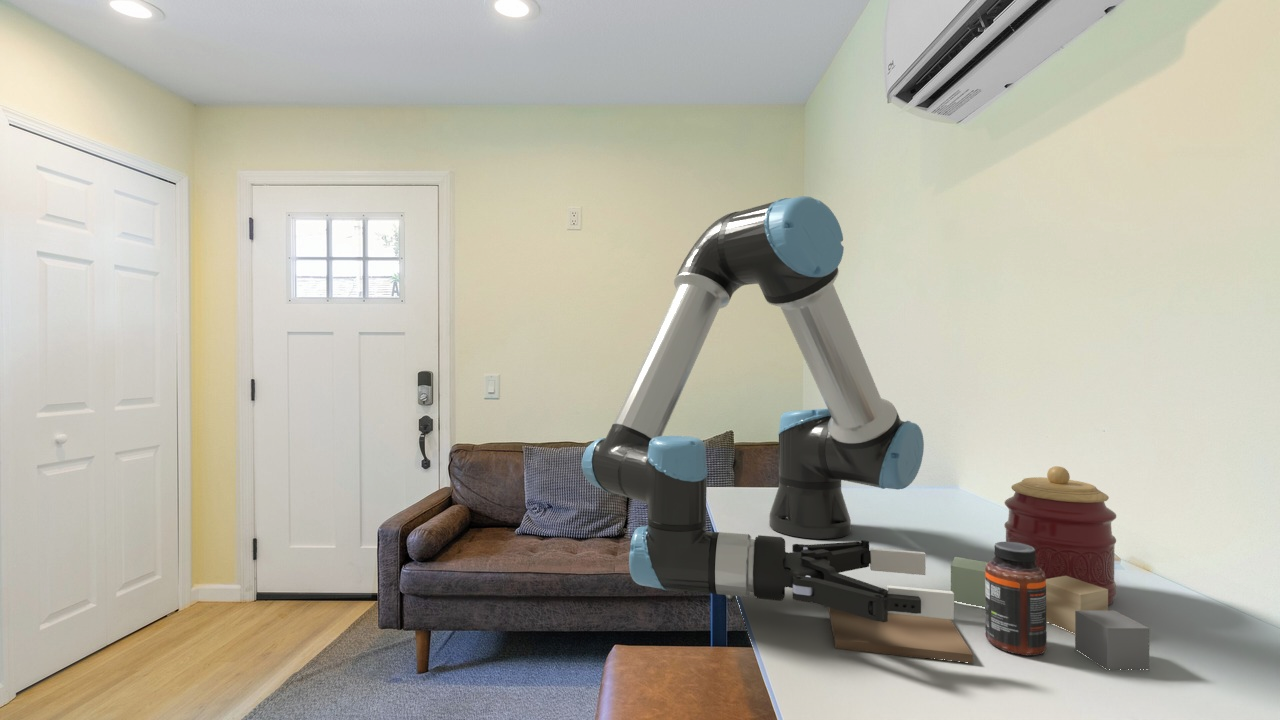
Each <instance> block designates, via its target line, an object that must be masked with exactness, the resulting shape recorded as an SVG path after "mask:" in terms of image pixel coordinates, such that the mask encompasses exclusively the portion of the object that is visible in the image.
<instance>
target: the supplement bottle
mask: <svg viewBox="0 0 1280 720" xmlns="http://www.w3.org/2000/svg"><path fill="white" fill-rule="evenodd" d="M1035 553H1036V551H1035V549H1034V548H1033V547H1031V546H1029V545H1026V544H1022V543H1016V542H1006V541H997V542H995V544H994V558H992V559H991V560H989V561H987V562H988V563H987V564H986V568H985V609H984V610H985V611H984V613H985V616H984V617H985V624H984V625H985V638H986V640H987V641H988V642H989V644H991V645H993V646H994V647H996V648H997V649H1000V650H1003V651H1005V652H1007V651H1008V652H1007V653H1010V652H1011V653H1010V654H1014V653H1015V655H1020V654H1021V656H1028V655H1033V656H1037V655H1040V654H1044V653H1045V652H1046V649H1047V642H1048V640H1047V639H1048V638H1047V634H1048V633H1047V632H1048V631H1047V623H1046V576H1045V573H1044V571H1043V570H1042V569H1041V568H1040V567H1038V566H1036V564H1035V560H1036V557H1035V556H1036V555H1035Z"/></svg>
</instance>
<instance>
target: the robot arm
mask: <svg viewBox="0 0 1280 720" xmlns="http://www.w3.org/2000/svg"><path fill="white" fill-rule="evenodd" d="M842 231H843V230H842V227H841V226H840V223H839V220H838V218H837V217H836V215H835V214H834V212H833V211H832V209H831V208H830V207H828V205H826V204H825V203H824V202H822V200H819V199H816V198H814V197H811V196H803V195H802V196H797V197H792V198H791V197H789V198H788V197H785V198H779V199H777V200H776V201H772V202H768V203H765V204H761V205H757V206H754V207H751V208H747V209H744V210H739V211H734V212H730V213H727V214H725V215H723V216H722V217H720V218H718V219H717V220H715V221H714V222H713V223H712V224H710V226H709V227H707V228H706V230H705V231H704V232H703V233H702V234H700V237H698V239H697V240H696V241H695V242H694V243H693V245H692V247H691V249H690V250H689V251H688V253H687V255H686V256H685V258H684V260H683V261H682V264H681V265H680V268H679V269H678V271H677V274H676V275H675V278H674V281H673V285H674V287H675V292H674V294H673V296H672V297H671V300H670V302H669V305H668V307H667V308H666V311H665V313H664V315H663V317H662V319H661V322H660V323H659V326H658V328H657V330H656V332H655V333H654V336H653V339H652V340H651V343H650V345H649V347H648V348H647V351H646V353H645V355H644V358H643V359H642V361H641V363H640V365H639V368H638V369H637V372H636V374H635V376H634V378H633V380H632V382H631V385H630V387H629V389H628V391H627V393H626V395H625V397H624V399H623V402H622V404H621V406H620V408H619V410H618V412H617V414H616V416H615V418H614V420H613V423H612V425H611V428H610V429H609V431H608V433H607V435H606V437H605V438H604V437H603V438H598V439H595V440H594V441H593V442H592V443H591V444H589V445H588V446H587V447H586V448H585V451H584V452H583V456H582V460H581V470H582V474H583V475H584V478H585V479H586V480H587V482H588V483H589V484H590V485H591V486H594V487H596V488H597V489H598V488H599V489H600V490H601V491H604V492H606V493H608V494H609V493H610V494H613V495H614V494H615V495H618V496H623V497H626V498H629V499H632V500H634V501H635V500H636V501H639V502H642V503H645V504H647V524H646V525H645V526H644V525H643V526H638V527H637V528H635V530H634V531H633V534H632V537H631V541H630V547H629V548H630V550H629V555H628V567H629V573H630V574H629V575H630V577H631V579H632V581H633V582H634V583H636V584H637V585H639V586H643V587H649V588H655V589H661V590H663V591H679V592H691V593H692V592H693V593H701V594H702V593H703V594H712V595H724V596H725V598H726V599H728V600H731V599H733V598H734V597H743V598H744V597H745V598H747V597H749V596H750V593H753V596H754V597H756V599H759V600H768V601H778V602H781V601H783V600H785V596H786V595H785V594H786V588H789V589H792V599H793V601H797V602H804V603H811V604H816V605H819V606H822V607H826V608H828V607H829V608H832V609H836V610H840V611H843V612H847V613H850V614H854V615H857V616H861V617H864V618H868V619H871V620H875V621H879V622H887V621H888V613H894V614H904V615H914V616H924V617H933V618H943V619H950V620H954V619H955V617H954V616H955V614H954V613H955V603H954V593H953V592H952V591H951V590H941V589H932V588H931V589H930V588H920V587H909V586H901V585H890V584H889V585H888V584H887V585H886V588H883V587H880V586H877V585H874V584H871V583H868V582H865V581H864V580H863V581H862V580H859V579H856V578H854V577H852V576H851V577H850V576H847V575H845V574H842V573H844V572H850V571H854V570H860V569H864V568H865V569H866V568H870V569H869V570H870V571H873V572H874V571H875V572H886V573H898V574H908V575H919V576H920V575H921V576H926V560H927V559H926V553H925V552H924V551H914V550H912V551H911V550H902V549H888V548H877V547H870V541H868V540H864V539H863V540H860V541H846V542H831V543H815V544H803V543H801V544H800V543H794V544H792V552H791V551H790V552H787V551H786V540H785V538H783V537H782V536H773V535H772V536H771V535H760V534H759V535H757V536H755V539H752V536H751V535H750V534H749V533H735V532H720V531H719V532H717V531H710V530H709V531H708V530H706V529H707V523H706V521H707V491H708V490H707V488H708V487H707V484H708V481H707V479H708V472H709V471H708V466H707V453H706V451H707V450H706V449H707V448H706V444H705V443H704V441H703V440H702V439H701V438H697V437H694V436H687V435H683V436H682V435H664V433H665V431H666V429H667V426H668V424H669V422H670V420H671V417H672V416H673V413H674V410H675V409H676V407H677V404H678V401H679V399H680V397H681V394H682V392H683V390H684V388H685V386H686V383H687V381H688V379H689V377H690V375H691V373H692V370H693V368H694V366H695V363H696V361H697V359H698V357H699V355H700V353H701V350H702V347H703V346H704V343H705V341H706V339H707V336H708V334H709V333H710V330H711V328H712V326H713V323H714V321H715V319H716V316H717V314H718V312H719V310H721V309H723V308H726V307H727V306H728V305H729V303H730V300H731V299H732V296H733V295H734V293H735V292H736V291H737V290H738V289H740V288H741V287H743V286H747V285H759V286H758V287H759V288H760V291H761V293H762V294H763V295H762V296H764V299H765V301H766V302H767V304H769V305H771V306H775V307H780V309H781V311H782V313H783V316H784V318H785V321H786V322H787V324H788V326H789V328H790V331H791V333H792V335H793V337H794V339H795V342H796V344H797V345H798V348H799V350H800V352H801V354H802V357H803V359H804V360H805V362H806V364H807V367H808V369H809V371H810V373H811V376H812V378H813V380H814V382H815V384H816V386H817V389H818V391H819V393H820V395H821V397H822V399H823V401H824V404H825V407H826V408H818V409H815V408H814V409H805V410H804V409H802V410H791V411H786V412H784V413H782V414H781V416H780V419H779V430H778V489H777V492H776V494H775V497H774V500H773V503H772V506H771V509H770V511H769V522H768V523H769V527H770V528H771V529H772V530H773V531H776V532H778V533H780V534H784V535H787V536H791V537H798V538H803V539H804V538H805V539H816V540H817V539H818V540H819V539H820V540H821V539H822V540H823V539H825V540H830V539H838V538H842V537H843V538H844V537H846V536H849V534H851V530H852V529H851V528H852V526H851V525H852V521H851V516H850V514H849V510H848V508H847V504H846V502H845V501H846V500H845V499H844V496H843V491H842V481H844V482H845V481H846V482H851V483H854V484H860V485H864V486H870V487H875V488H880V489H881V490H884V489H889V490H904V489H905V488H907V487H909V486H910V485H911V484H912V483H913V482H914V481H915V479H916V477H917V476H918V474H919V471H920V468H921V465H922V462H923V457H924V447H925V444H924V443H925V441H924V436H923V431H922V429H921V427H920V426H919V425H918V424H917V423H915V422H912V421H911V420H906V421H903V420H901V418H900V416H899V413H898V410H897V409H896V406H895V405H894V404H893V403H892V402H891V401H889V400H887V399H884V398H881V395H880V392H879V390H878V388H877V386H876V383H875V381H874V378H873V376H872V374H871V371H870V369H869V368H870V367H868V364H867V362H866V360H865V357H864V354H863V352H862V350H861V347H860V345H859V342H858V340H857V337H856V336H855V333H854V331H853V328H852V326H851V324H850V323H851V322H850V321H849V318H848V316H847V314H846V310H845V309H844V306H843V304H842V302H841V300H840V297H839V294H838V293H837V290H836V288H835V286H834V283H835V281H836V280H837V278H838V276H839V272H840V270H839V268H838V267H839V266H840V264H841V262H842V259H843V256H844V246H843V245H842V242H843V240H844V236H843V235H844V234H843V232H842Z"/></svg>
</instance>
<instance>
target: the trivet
mask: <svg viewBox="0 0 1280 720" xmlns="http://www.w3.org/2000/svg"><path fill="white" fill-rule="evenodd" d="M827 608H828V613H829V619H830V626H831V631H832V635H833V636H832V637H833V642H834V647H835V649H840V650H847V651H857V652H867V653H874V654H875V653H876V654H883V655H892V656H899V655H901V657H907V656H909V658H916V657H920V658H919V659H925V658H932V659H931V660H933V659H934V658H935V659H943V660H944V659H945V660H952V661H960V662H968V663H973V664H974V654H973V653H972V651H971V649H970V648H969V646H968V645H967V643H966V641H965V640H964V638H963V637H962V635H961V634H960V632H959V631H958V628H956V626H955V624H954V623H953V621H952V619H943V618H933V617H924V616H914V615H904V614H894V613H888V621H887V622H879V621H875V620H871V619H868V618H864V617H861V616H857V615H854V614H850V613H847V612H843V611H840V610H836V609H832V608H829V607H827ZM911 656H912V657H911ZM968 663H967V664H968Z"/></svg>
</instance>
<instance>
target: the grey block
mask: <svg viewBox="0 0 1280 720" xmlns="http://www.w3.org/2000/svg"><path fill="white" fill-rule="evenodd" d="M1074 637H1075V638H1074V648H1075V649H1076V650H1078V651H1080V652H1081V653H1083V654H1084V655H1086V656H1087V657H1089V658H1090V659H1092V660H1093V661H1094V663H1095V662H1096V663H1098V664H1099V665H1101V666H1103V667H1104V668H1106V669H1107V670H1106V669H1105V670H1106V671H1147V670H1146V669H1149V670H1150V627H1148V626H1146V625H1144V624H1142V623H1140V622H1138V621H1136V620H1134V619H1132V618H1130V617H1128V616H1127V615H1124V614H1123V613H1120V612H1118V611H1117V610H1108V611H1075V634H1074ZM1075 649H1074V650H1075ZM1076 650H1075V651H1076ZM1078 651H1077V652H1078ZM1081 653H1080V654H1081ZM1084 655H1083V656H1084ZM1087 657H1086V658H1087ZM1089 658H1088V659H1089ZM1090 659H1089V660H1090ZM1092 660H1091V661H1092ZM1093 661H1092V662H1093ZM1096 663H1095V664H1096ZM1098 664H1097V665H1098ZM1099 665H1098V666H1099ZM1101 666H1100V667H1101ZM1103 667H1102V668H1103ZM1104 668H1103V669H1104ZM1109 669H1110V670H1109ZM1120 669H1121V670H1120ZM1128 669H1129V670H1128ZM1131 669H1132V670H1131ZM1140 669H1141V670H1140ZM1143 669H1144V670H1143Z"/></svg>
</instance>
